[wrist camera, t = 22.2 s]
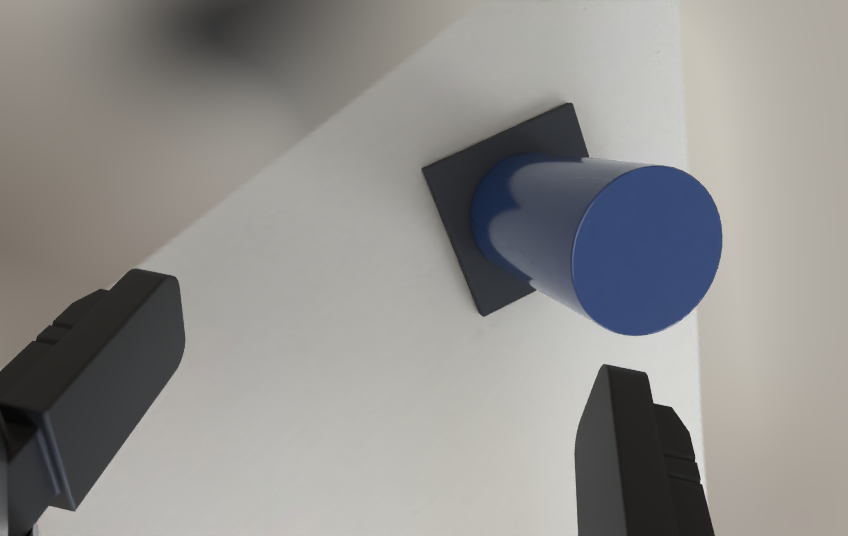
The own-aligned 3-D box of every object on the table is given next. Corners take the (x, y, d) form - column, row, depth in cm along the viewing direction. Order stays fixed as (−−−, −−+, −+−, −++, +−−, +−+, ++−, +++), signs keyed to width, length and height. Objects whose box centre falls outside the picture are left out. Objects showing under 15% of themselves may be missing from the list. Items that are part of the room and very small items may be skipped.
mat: (421, 168, 30) (425, 169, 29) (566, 102, 31) (572, 102, 31) (479, 313, 32) (483, 317, 32) (611, 247, 34) (618, 249, 33)
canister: (462, 270, 31) (559, 336, 22) (477, 146, 30) (585, 157, 20) (572, 275, 33) (706, 337, 23) (590, 157, 32) (738, 172, 22)
